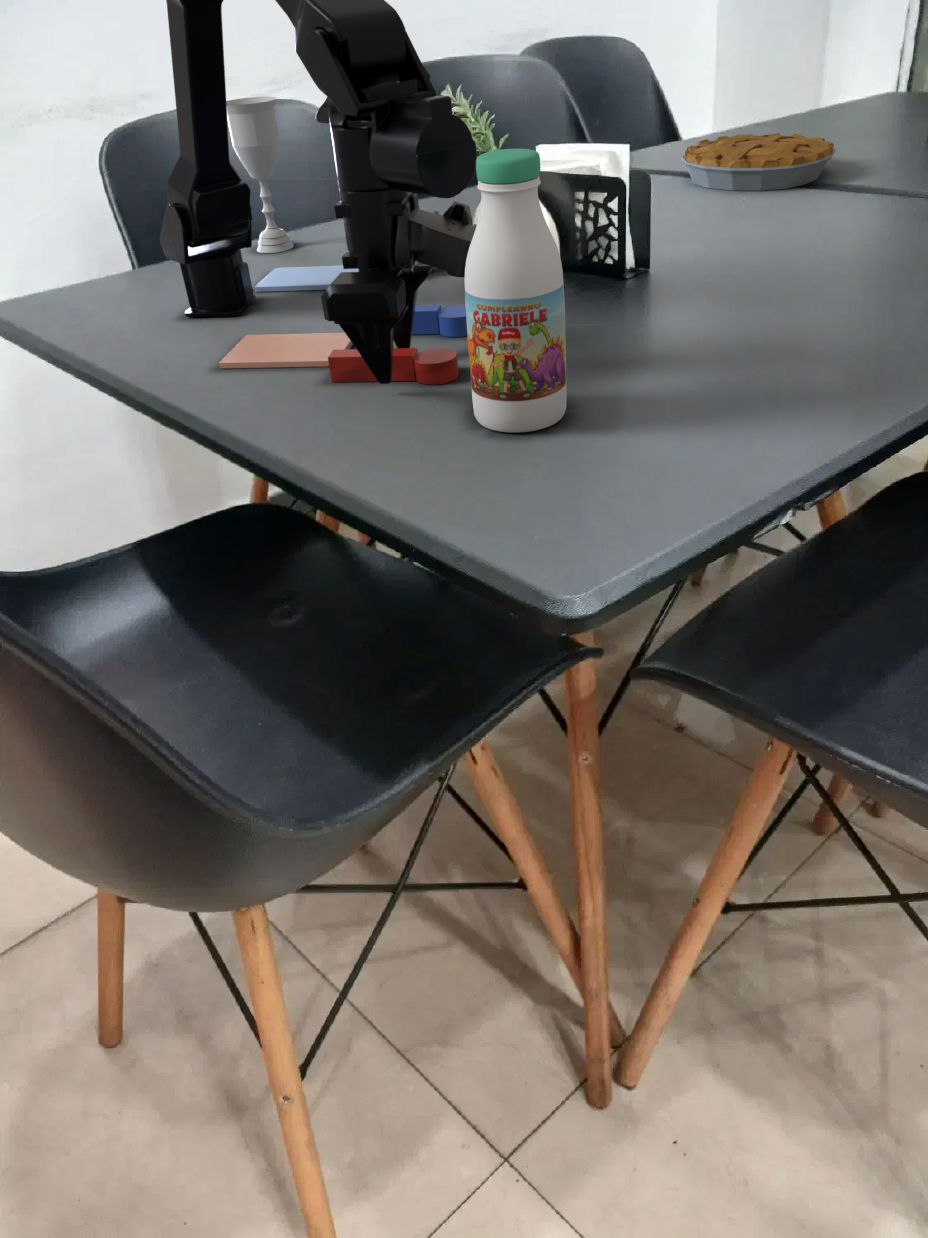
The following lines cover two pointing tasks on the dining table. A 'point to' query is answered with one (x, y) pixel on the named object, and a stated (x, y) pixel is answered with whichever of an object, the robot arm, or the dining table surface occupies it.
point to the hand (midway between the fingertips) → (395, 365)
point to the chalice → (258, 157)
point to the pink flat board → (285, 350)
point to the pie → (757, 161)
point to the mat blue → (300, 278)
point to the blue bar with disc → (440, 320)
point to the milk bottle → (514, 300)
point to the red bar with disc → (397, 366)
